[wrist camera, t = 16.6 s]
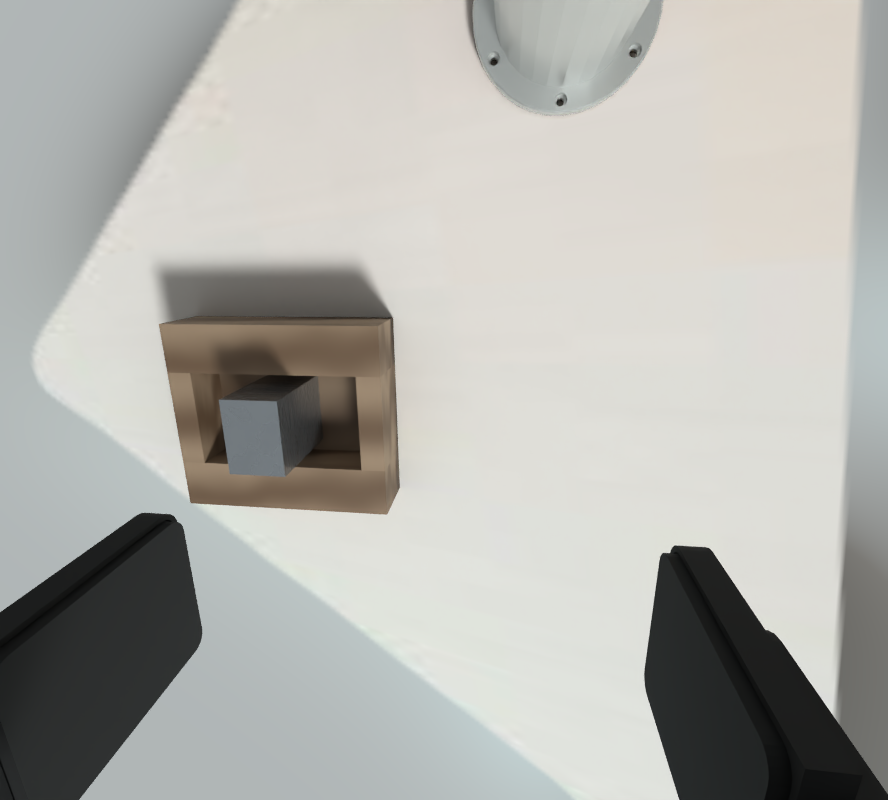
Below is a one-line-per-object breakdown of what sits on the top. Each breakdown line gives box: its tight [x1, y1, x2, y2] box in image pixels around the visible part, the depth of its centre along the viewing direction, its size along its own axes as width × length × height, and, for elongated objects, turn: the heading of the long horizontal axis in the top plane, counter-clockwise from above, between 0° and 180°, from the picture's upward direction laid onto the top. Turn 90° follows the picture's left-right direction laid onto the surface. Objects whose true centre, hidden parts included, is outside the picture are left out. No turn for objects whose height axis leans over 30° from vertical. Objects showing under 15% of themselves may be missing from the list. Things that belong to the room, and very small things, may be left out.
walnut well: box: [159, 316, 400, 514], centre depth 43 cm, size 16×18×5 cm
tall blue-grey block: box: [219, 375, 323, 477], centre depth 40 cm, size 6×4×8 cm
